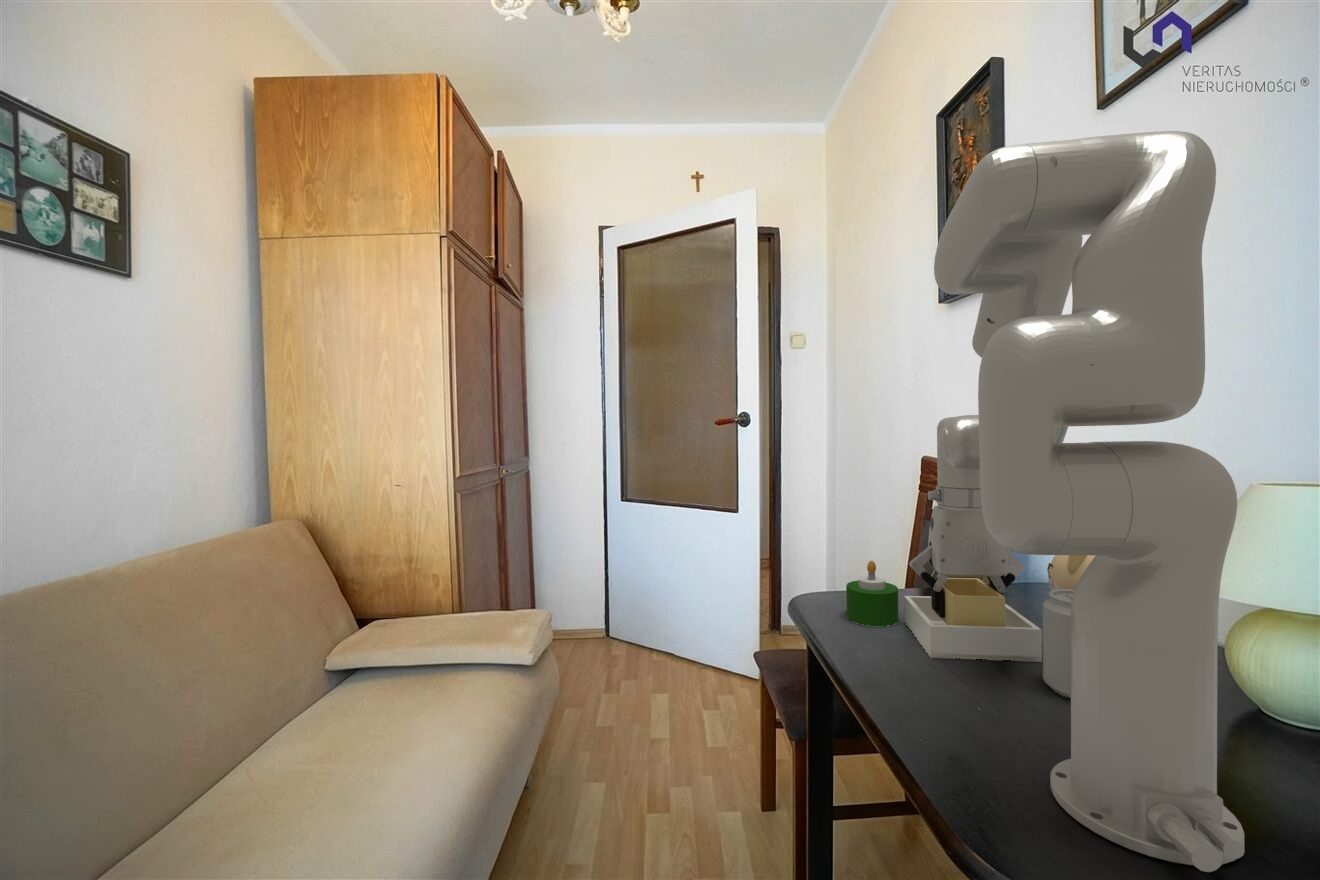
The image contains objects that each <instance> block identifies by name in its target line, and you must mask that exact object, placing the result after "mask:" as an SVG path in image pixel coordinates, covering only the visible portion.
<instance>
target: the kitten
mask: <svg viewBox="0 0 1320 880" xmlns="http://www.w3.org/2000/svg"><path fill="white" fill-rule="evenodd" d="M1095 556H1096V555H1053V558H1052V560H1051V561H1050V562H1049V563H1048V566H1047V569H1046V571H1047V575H1048V577H1047V578H1048V585H1049V589H1050V591H1053V590H1058V589H1071V590H1075V587H1076V584H1077V582H1078V581H1079V579H1080V577H1081V575H1082V574H1083V572H1084V571H1085V569H1086V568H1087V567H1088V565H1089V564H1090V562H1091V561H1092V560H1093V558H1094V557H1095Z"/></svg>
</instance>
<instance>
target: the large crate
mask: <svg viewBox="0 0 1320 880" xmlns="http://www.w3.org/2000/svg"><path fill="white" fill-rule="evenodd" d="M903 616H904V617H903V619H904V620H903V621H904V622H905V623H906V624H905V623H904V624H905V626H906V625H907V626H908V627H909V628H908V627H907V626H906V627H907V628H908V629H910V630H911V631H912V632H911V631H910V630H909V631H910V632H911V634H912V633H913V634H914V635H913V634H912V635H913V636H914V638H915V637H916V638H917V639H916V638H915V639H916V640H917V642H918V641H919V642H918V643H919V644H920V645H922V646H921V647H922V648H923V649H925V650H924V651H925V652H926V654H927V653H928V654H927V655H928V656H929V658H931V659H948V660H949V659H953V660H976V659H983V660H982V661H1002V660H1011V661H1010V662H1035V663H1041V662H1042V663H1043V635H1042V628H1040V627H1039V626H1037V625H1036V624H1035V623H1033V622H1032V621H1030V620H1029V619H1027V618H1026V617H1025V616H1023V615H1022V614H1020V613H1019V612H1018V611H1017V610H1015V609H1013V608H1012V607H1011V606H1009V604H1007V603H1005V627H993V626H958V625H947V624H946V623H945V622H944V621H943V620H942V619H941V618H940V617H939V616H938V614H937V613H936V612H935V611H934V610H933V609H932V605H931V596H928V595H927V596H925V595H923V596H922V595H921V596H920V595H904V596H903ZM956 658H957V659H956ZM959 658H960V659H959ZM984 659H985V660H984ZM986 659H987V660H986ZM1014 660H1015V661H1014Z"/></svg>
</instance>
